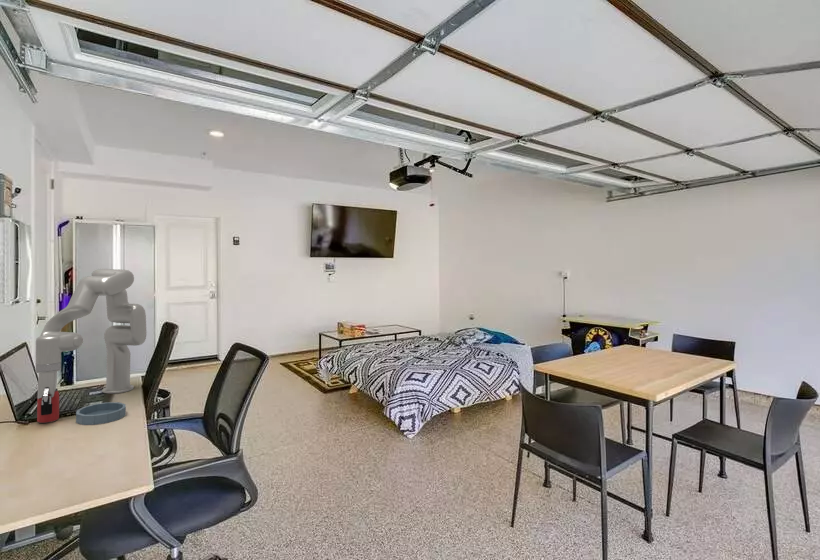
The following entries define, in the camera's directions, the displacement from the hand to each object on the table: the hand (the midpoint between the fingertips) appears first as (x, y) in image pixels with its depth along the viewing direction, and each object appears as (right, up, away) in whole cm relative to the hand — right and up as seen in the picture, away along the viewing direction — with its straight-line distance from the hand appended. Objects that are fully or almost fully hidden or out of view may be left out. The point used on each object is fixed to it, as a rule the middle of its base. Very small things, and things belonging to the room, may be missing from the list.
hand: (48, 410), depth 165 cm
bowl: (+17, -4, +5) cm, 18 cm away
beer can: (0, -4, 0) cm, 4 cm away
